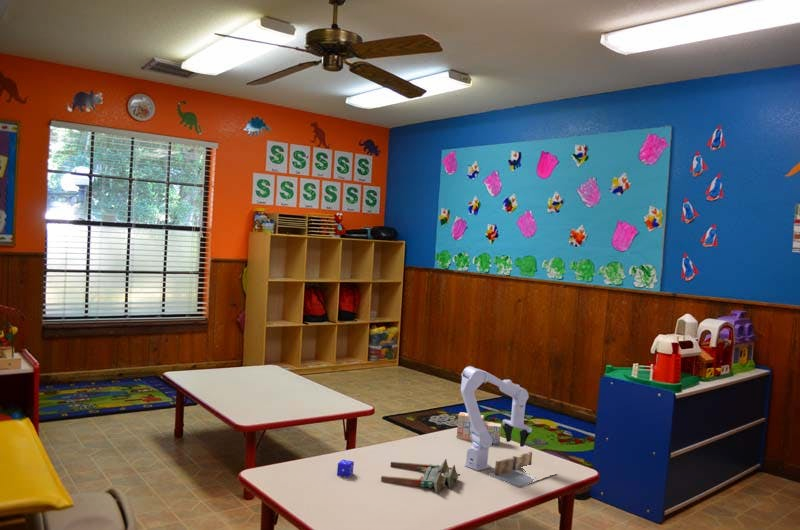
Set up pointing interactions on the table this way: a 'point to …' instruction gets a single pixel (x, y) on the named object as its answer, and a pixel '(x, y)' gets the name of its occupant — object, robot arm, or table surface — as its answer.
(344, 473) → the die
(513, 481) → the board
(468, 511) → the table surface
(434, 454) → the table surface
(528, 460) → the oak fence section
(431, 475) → the miniature gate
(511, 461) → the walnut fence section
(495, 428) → the stack of blocks
